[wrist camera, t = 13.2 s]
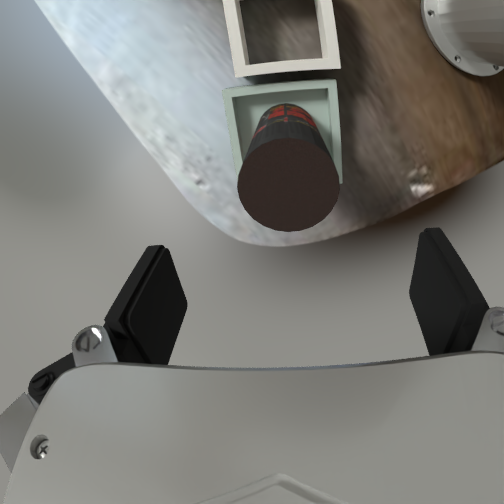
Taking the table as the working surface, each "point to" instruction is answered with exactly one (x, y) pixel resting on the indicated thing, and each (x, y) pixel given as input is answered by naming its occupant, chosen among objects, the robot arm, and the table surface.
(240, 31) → the holder
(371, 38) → the table surface
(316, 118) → the tray
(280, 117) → the deodorant
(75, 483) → the robot arm
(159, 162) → the table surface
